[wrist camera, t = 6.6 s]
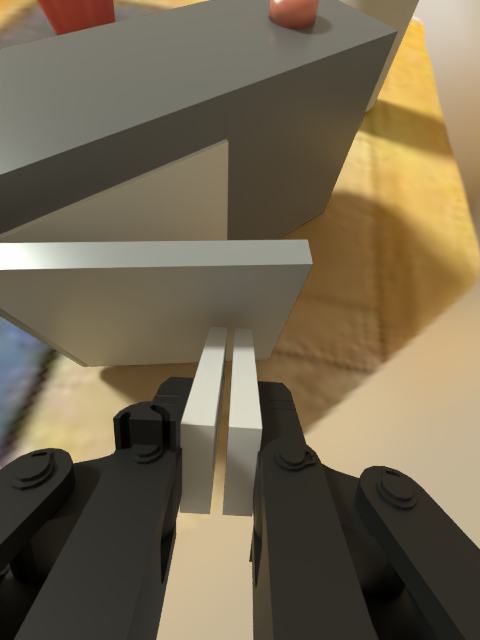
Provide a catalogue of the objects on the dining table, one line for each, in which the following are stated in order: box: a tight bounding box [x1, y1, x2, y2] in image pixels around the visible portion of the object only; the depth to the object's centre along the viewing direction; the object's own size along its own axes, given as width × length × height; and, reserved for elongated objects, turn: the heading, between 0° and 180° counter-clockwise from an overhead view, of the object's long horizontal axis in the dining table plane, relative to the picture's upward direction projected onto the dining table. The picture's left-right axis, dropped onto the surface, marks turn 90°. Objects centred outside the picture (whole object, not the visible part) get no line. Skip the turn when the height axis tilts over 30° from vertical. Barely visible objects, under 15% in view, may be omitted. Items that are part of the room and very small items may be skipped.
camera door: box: [0, 240, 313, 367], centre depth 13 cm, size 12×1×10 cm, turn 93°
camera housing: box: [0, 0, 398, 243], centre depth 18 cm, size 24×8×13 cm, turn 128°
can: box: [339, 0, 419, 112], centre depth 28 cm, size 8×8×12 cm
